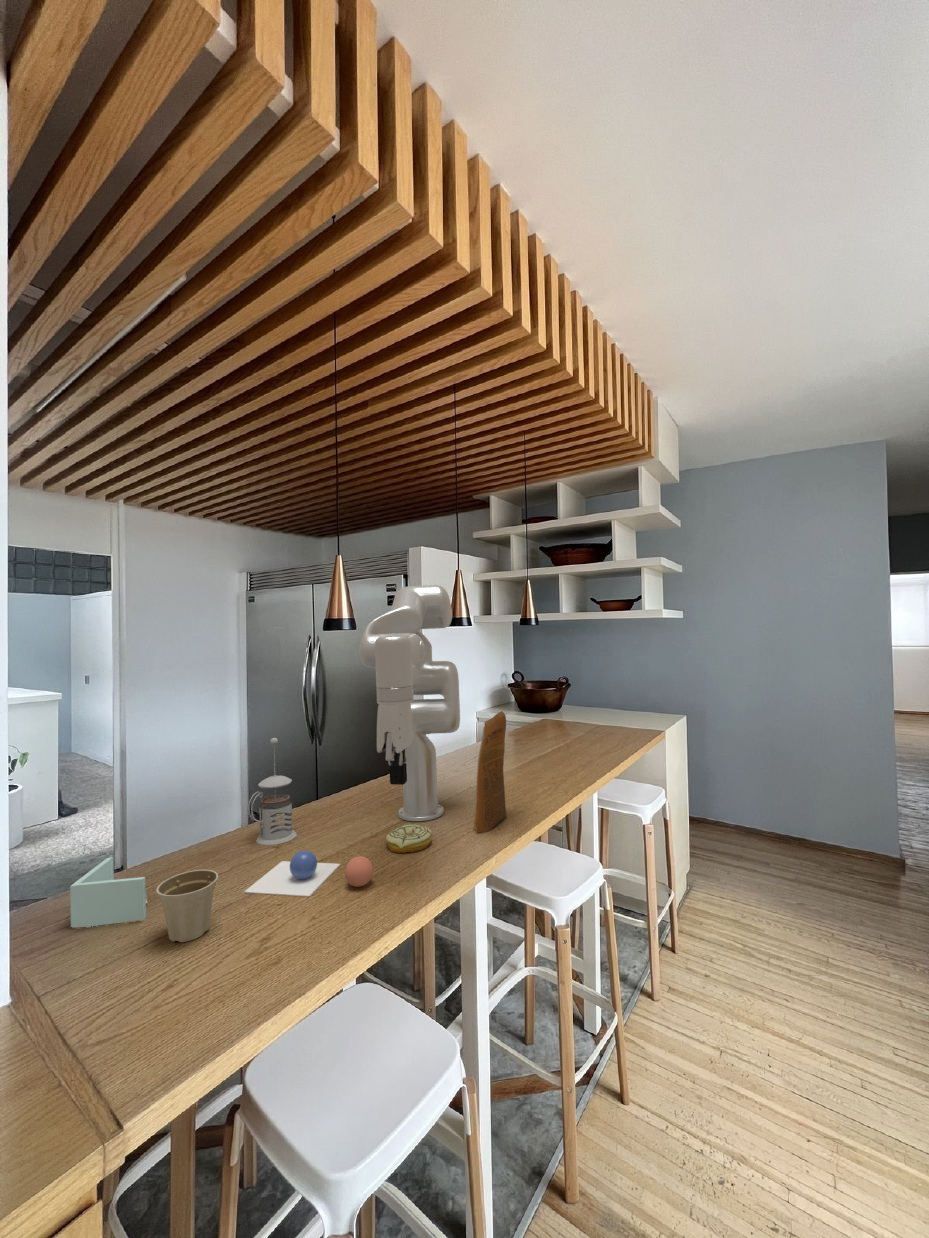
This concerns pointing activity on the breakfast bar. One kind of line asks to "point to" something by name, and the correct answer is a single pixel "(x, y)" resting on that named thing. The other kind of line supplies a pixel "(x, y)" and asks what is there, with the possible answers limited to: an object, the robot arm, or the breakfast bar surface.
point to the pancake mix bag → (491, 776)
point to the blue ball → (303, 865)
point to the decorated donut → (409, 838)
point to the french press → (274, 811)
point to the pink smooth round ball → (359, 871)
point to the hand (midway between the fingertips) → (398, 783)
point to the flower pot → (188, 903)
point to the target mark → (291, 881)
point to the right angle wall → (106, 898)
